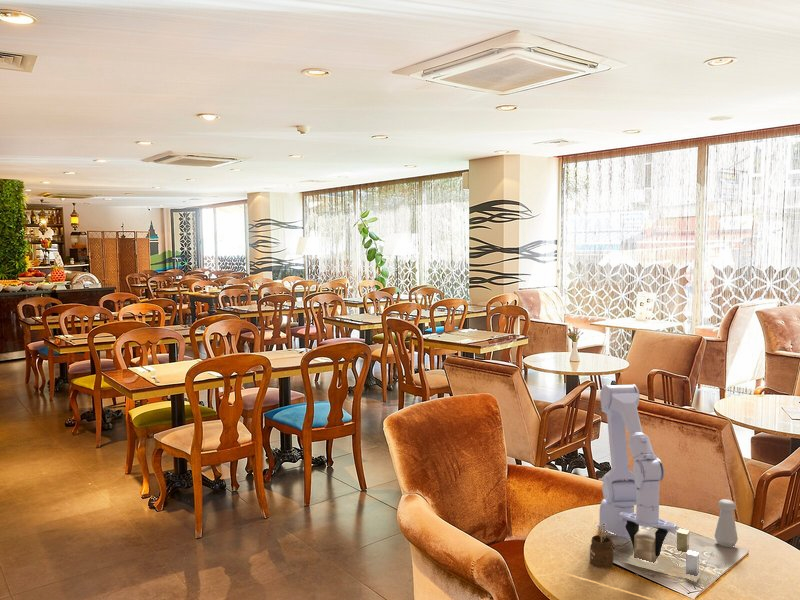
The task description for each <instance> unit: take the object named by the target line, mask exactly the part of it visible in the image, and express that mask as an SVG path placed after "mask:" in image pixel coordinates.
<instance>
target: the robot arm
mask: <svg viewBox="0 0 800 600" xmlns="http://www.w3.org/2000/svg"><path fill="white" fill-rule="evenodd" d="M640 396H641V395H640V390H639V388H638V387H637V385H636V384H635V383H631V384H603V386H602V387H601V389H600V393H599V398H600V408H601V412H602V413H604V414H606V421H607V429H608V430H607V431H608V441H609V443H608V444H609V452H610V453H609V454H610V465H611V469H609V471H607V473H605V474H604V475H603V476H602V488H601V491H602V496H603V499H602V500H601V502H600V504H599V505H600V506H599V518H598V519H599V523H598V524H599V525H598V526H600V533H601V526H603V525H606V524H607V525H606V526H604V527H605V530H608V531H611V532H612V533H614V534H616V535H619V536H618V537H620V536H622V537H621V538H624V537H625V538H624V539H628V538H629V539H628V540H631V545H632V549H633V551H634V535H635V534H636V533H637V531H638V530H639V529H640V527H643V528H651V529H652V528H653V529H657V530H656V531H654V532H655V538H656V551H655V553H656V556H659V555H660V552H661V547H662V544H663V541H664V539H666V537H667V535H668V534H669V533H670V534H673V535H675V534H677V524H676V523H673V522H669V521H667V520H664V519H661V518H660V510H659V509H660V482H661V481H663V480H664V477H665V470H664V466H663V462H662V461H661V459H659V457H658V455H656V454H655V452H654V449H653V446H652V443H651V441H650V438H649V435H647V434H646V433H643V428H642V427H643V426H642V425H641V420H640V415H639V410H638V406H639V403H640ZM626 430H627V432H628V434H629V438H628V439H627V432H626ZM627 443H628V445H627ZM628 447H629V450H630V453H631V457H632V460H633V466H632V471H631V470H630V466H629V464H630V463H629V455H628ZM635 506H636V507H635ZM635 509H636V511H635ZM600 522H601V523H600ZM616 535H615V536H616ZM630 538H631V539H630Z"/></svg>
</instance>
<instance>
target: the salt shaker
mask: <svg viewBox="0 0 800 600" xmlns="http://www.w3.org/2000/svg"><path fill="white" fill-rule="evenodd" d="M717 506H718V508H719V510H720V512H719V516H718V520H717V524H716V528H715V532H714V538H715V540H716V543H717V545H718V544H719V545H718V546H720V545H721V546H720V547H723V546H724V547H723V548H728V547H732V548H734V547H735V546H736V544H737V542H738V540H739V539H738V538H739V537H738V532H737V526H736V521H735V515H734V511H735V510H736V503H735V502H734V501H733V500H730V499H720V500H719V501H718V504H717ZM733 546H734V547H733Z"/></svg>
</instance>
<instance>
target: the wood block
mask: <svg viewBox="0 0 800 600" xmlns="http://www.w3.org/2000/svg"><path fill="white" fill-rule="evenodd" d="M655 532H656V531H652V530H647V529H644V528H639V530H638V531H637V533H636V534H635V535H634V550H633V551H634V558H639V559H642V560H646V561H649V562H653V563H654V562H655V561H656V559H657V558H658V556H656V553H655V551H656V538H655Z"/></svg>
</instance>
